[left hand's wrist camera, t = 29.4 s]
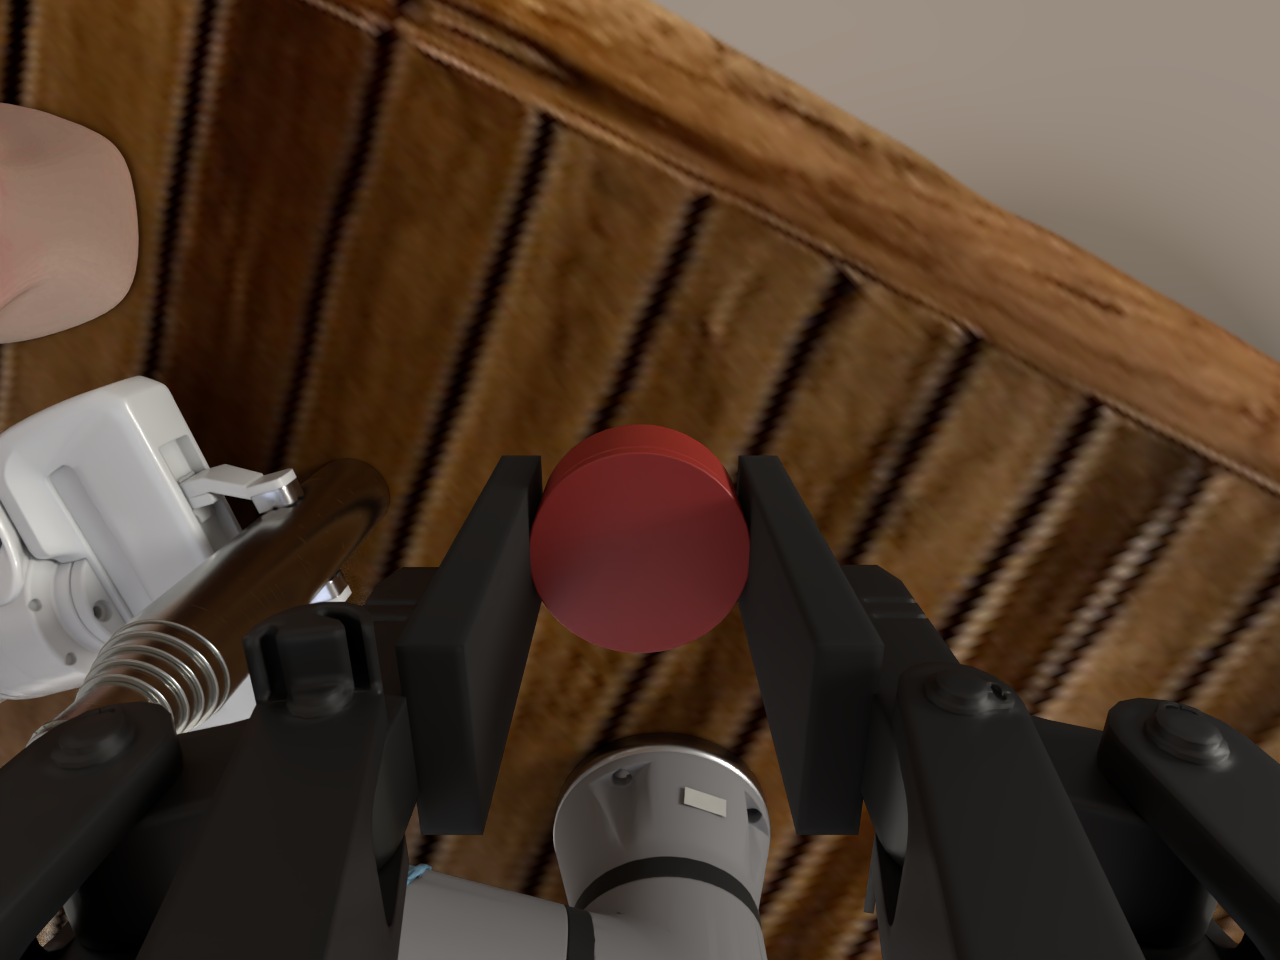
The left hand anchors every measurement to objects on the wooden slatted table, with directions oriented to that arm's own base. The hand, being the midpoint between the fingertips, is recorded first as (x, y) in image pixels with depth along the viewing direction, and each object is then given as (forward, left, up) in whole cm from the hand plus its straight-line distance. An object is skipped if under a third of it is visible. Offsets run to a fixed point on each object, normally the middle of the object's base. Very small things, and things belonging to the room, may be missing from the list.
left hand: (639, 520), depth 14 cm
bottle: (-15, +13, -27) cm, 34 cm away
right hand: (-15, +12, -20) cm, 28 cm away
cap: (0, 0, +2) cm, 2 cm away
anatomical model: (-6, +32, -27) cm, 43 cm away
